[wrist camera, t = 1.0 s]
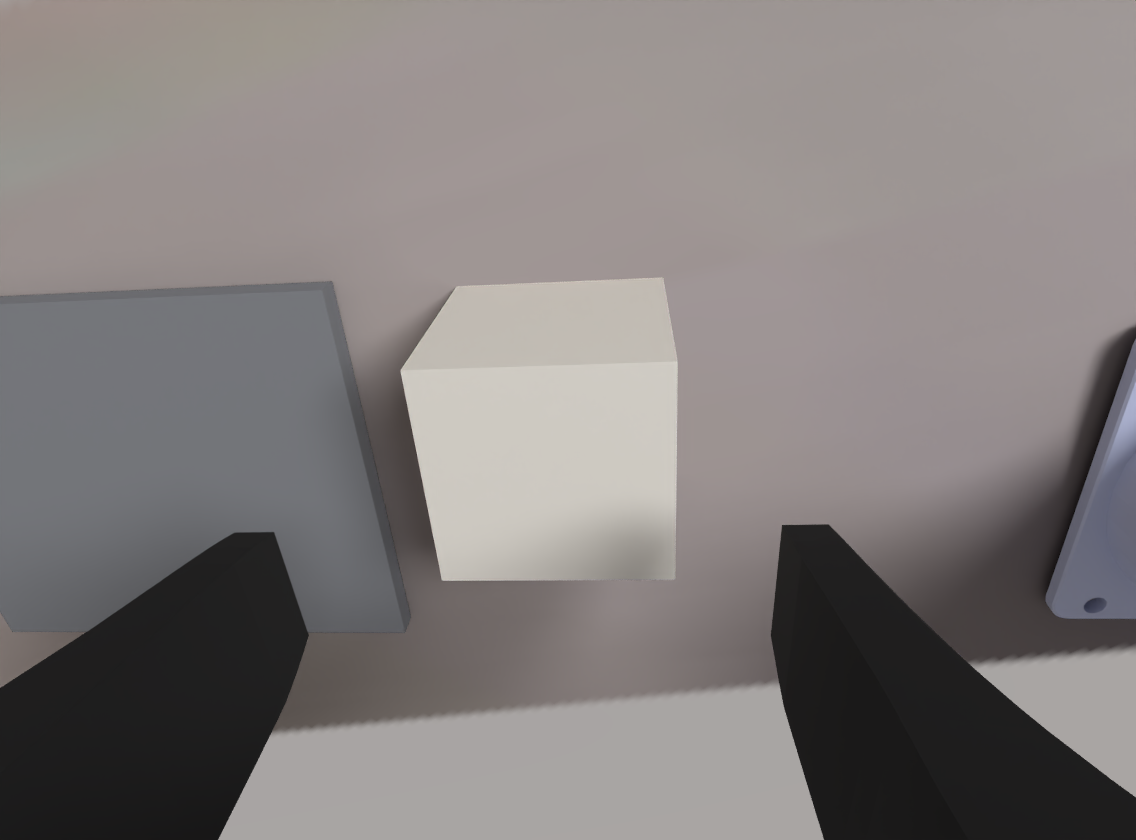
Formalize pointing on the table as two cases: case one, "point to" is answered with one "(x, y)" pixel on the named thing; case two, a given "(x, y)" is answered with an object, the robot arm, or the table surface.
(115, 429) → the gray mat
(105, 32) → the table surface
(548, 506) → the cream cube
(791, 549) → the robot arm
